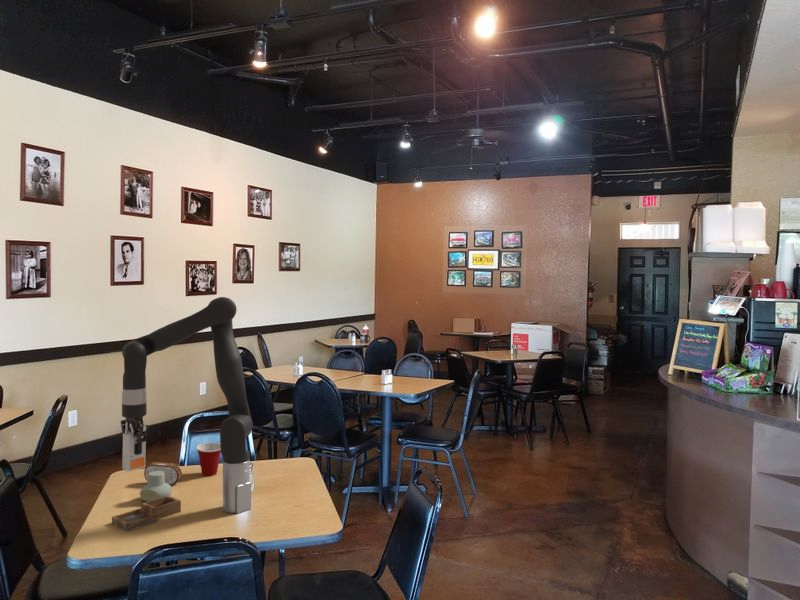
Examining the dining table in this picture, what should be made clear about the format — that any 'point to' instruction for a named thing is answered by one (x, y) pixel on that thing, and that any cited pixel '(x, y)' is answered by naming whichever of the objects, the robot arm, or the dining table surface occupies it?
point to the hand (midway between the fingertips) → (134, 452)
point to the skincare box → (132, 454)
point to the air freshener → (155, 486)
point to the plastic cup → (209, 458)
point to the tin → (165, 471)
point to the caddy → (148, 513)
